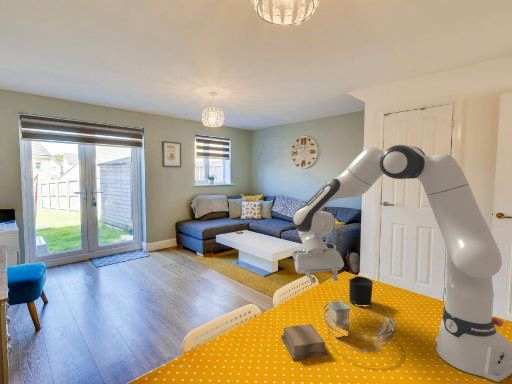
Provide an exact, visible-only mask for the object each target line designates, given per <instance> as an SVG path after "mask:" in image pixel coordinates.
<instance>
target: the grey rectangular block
mask: <svg viewBox="0 0 512 384" xmlns="http://www.w3.org/2000/svg"><path fill="white" fill-rule="evenodd" d="M350 312H351V308H350V307H349V306H348V305H347V304H346V303H344V302H343V301H342V300H339V301H332V302H328V321H329V320H330V321H331V322H332V324H334V325H335V327H339V328H341V329H343V330H346V331H349V332H350ZM327 329H328V331H329V333H331V331H330V329H329V327H328V328H327ZM331 335H332V333H331ZM332 336H333V337H334V338H335V339H337V338H336V337H335V336H334V335H332Z"/></svg>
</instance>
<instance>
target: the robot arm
mask: <svg viewBox="0 0 512 384" xmlns="http://www.w3.org/2000/svg"><path fill="white" fill-rule="evenodd" d="M383 175H385V176H387V177H389V178H391V179H395V180H406V179H412V180H413V179H418V181H420V184H421V185H422V188H423V190H424V192H425V194H426V197H427V200H428V203H429V205H430V207H431V209H432V213H433V215H434V218H435V221H436V223H437V226H438V228H439V230H440V233H441V236H442V239H443V241H444V243H445V247H446V285H445V286H446V288H445V305H444V307H443V308H442V309H443V310H442V319H441V321H440V327H439V333H438V336H436V337H435V342H436V348H435V350H436V353H437V354H438V356H439V357H440V358H441V359H442V360H444V361H445V362H446V363H447V364H449V365H451V366H452V367H454V368H456V369H459V370H461V371H463V372H466V373H468V374H472V375H474V376H480V377H483V378H485V379H487V380H490V381H492V382H493V381H494V382H497V383H500V382H502V381H503V380H505V379H507V378H509V377H510V376H512V375H511V374H512V343H511V341H510V340H509V339H508V338H506V337H505V336H503V335H502V334H501V333H500V332H499V331H497V329H496V326H497V327H499V328H501V327H503V326H504V321H503V320H502V319H499V318H497V317H495V316H494V317H493V308H494V295H495V294H494V287H493V286H494V285H493V276H495V275H497V274H498V273H499V272H500V270H501V267H502V264H503V258H502V257H503V256H502V254H501V251H500V249H499V247H498V244H497V243H496V240H495V238H494V236H493V234H492V232H491V229H490V227H489V225H488V224H487V221H486V219H485V217H484V216H483V214H482V211H481V210H480V208H479V205H478V202H477V199H476V197H475V195H474V192H473V190H472V188H471V186H470V183H469V181H468V179H467V176H466V175H465V172H464V170H462V168H461V166H460V165H459V163H458V162H457V160H456V158H454V157H453V156H452V155H450V154H447V153H437V154H433V155H430V156H426V153H425V152H424V151H423V150H422V149H421V148H419V147H417V146H414V145H410V144H396V145H393V146H391V147H389V148H387V149H386V150H384V151H383V150H382V149H380V148H378V147H373V146H372V147H371V146H370V147H366V148H365V149H363V150H362V151H361V152H360V153H359V154H358V155H357V156H355V158H354V159H353V160H352V161H351V162H350V164H349V165H348V166H347V168H345V170H344V171H342V173H340V174H338V175H337V176H336V177H334V178H333V179H330V180H328V181H327V182H325V184H324V185H322V186H321V187H320V189H318V190H317V191H316V192H315V193H314V194H313V196H311V198H310V199H309V200H307V202H306V203H305V204H302V205H301V206H300V207H299V208H297V209H296V210H295V212H294V214H293V216H292V223H293V225H294V227H295V229H296V230H297V231H298V232H297V233H298V236H299V238H300V240H301V247H302V250H295V251H294V252H292V255H291V256H292V259H293V261H294V269H295V272H297V274H305V276H306V277H307V278H308V279H309V280H310V281H309V282H310V283H311V284H316V282H317V280H316V277H315V276H313V275H312V274H311V273H319V272H320V273H321V272H332V273H333V275H332V276H331V279H332V281H333V282H337V281H338V280H339V277H338V271H341V270H342V269H343V268H344V266H345V262H344V260H343V258H342V256H341V253H340V251H338V250H337V246H336V244H334V243H330V242H326V241H323V239H322V238H323V237H326V236H328V235H329V234H331V233H332V232H333V231H334V230H335V228H336V220H335V216H334V215H333V214H332V213H331V212H328V211H325V210H324V211H323V209H324V208H325V207H326V206H327V205H328V204H329V203H330V202H332V201H334V200H338V199H344V198H345V199H346V198H358V197H361V196H362V195H364V194H365V193H367V192H368V191H369V190H370V189H371V188H372V186H374V184H375V183H376V182H377V180H379V178H380V177H381V176H383ZM508 376H509V377H508Z"/></svg>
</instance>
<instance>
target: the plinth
mask: <svg viewBox="0 0 512 384" xmlns="http://www.w3.org/2000/svg"><path fill="white" fill-rule="evenodd" d="M280 337H281V340H282V341H283V344H284V346H285V348H286V349H287V352H288V353H289V356H290V358H291V359H292V361H297V360H303V359H311V358H317V357H324V356H327V355H328V351H327V350H326V349H325V348H326V347H325V346H326V345H325V344H326V341H325V340H324V338H323V337H322V336H321V335H320V333H319V331H317V330H316V328H315V327H314V326H313V324H312V323H308V324H299V325H298V324H297V325H290V326H283V335H281V336H280Z"/></svg>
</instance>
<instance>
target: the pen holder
mask: <svg viewBox="0 0 512 384" xmlns="http://www.w3.org/2000/svg"><path fill="white" fill-rule="evenodd" d="M348 280H349V286H348V287H349V289H348V292H349V296H348V297H349V302H350V303H351V304H352V305H353V304H357V305H370V306H371V304H372V298H373V297H372V296H373V295H372V294H373V284H374V282H373V280H371V279H370V278H368V277H364V276H360V275H359V276H354V277H352V278H349V279H348Z"/></svg>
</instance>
